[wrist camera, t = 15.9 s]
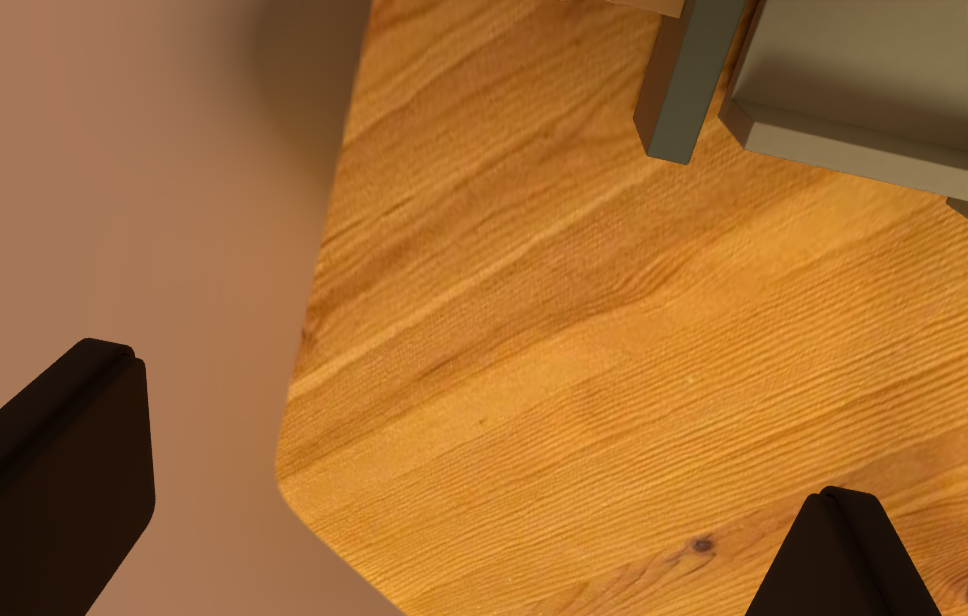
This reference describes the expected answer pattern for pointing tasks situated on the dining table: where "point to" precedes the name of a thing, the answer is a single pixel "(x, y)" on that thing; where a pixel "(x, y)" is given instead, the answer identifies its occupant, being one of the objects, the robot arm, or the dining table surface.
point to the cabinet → (959, 206)
